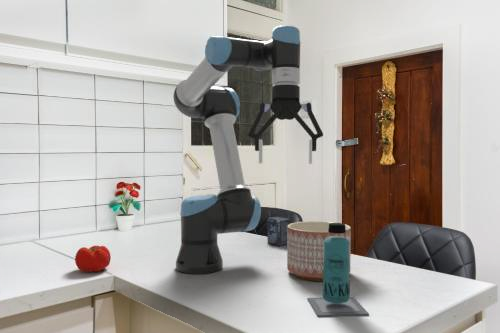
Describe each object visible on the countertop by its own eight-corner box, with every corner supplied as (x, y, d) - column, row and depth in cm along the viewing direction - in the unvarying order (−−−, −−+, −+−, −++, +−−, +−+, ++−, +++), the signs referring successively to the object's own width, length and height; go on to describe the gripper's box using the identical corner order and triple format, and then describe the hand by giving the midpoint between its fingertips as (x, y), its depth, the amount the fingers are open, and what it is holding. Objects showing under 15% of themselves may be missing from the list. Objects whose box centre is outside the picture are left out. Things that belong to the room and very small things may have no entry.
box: (267, 243, 182) (267, 217, 182) (277, 241, 186) (277, 216, 185) (280, 246, 176) (280, 220, 176) (290, 244, 180) (290, 218, 179)
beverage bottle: (319, 301, 111) (319, 221, 111) (345, 300, 112) (346, 220, 111) (326, 310, 105) (326, 225, 104) (353, 309, 105) (354, 225, 105)
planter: (336, 287, 124) (337, 234, 124) (276, 276, 135) (276, 227, 134) (358, 271, 141) (359, 224, 140) (303, 263, 151) (303, 219, 150)
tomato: (77, 276, 135) (77, 252, 135) (73, 268, 145) (73, 245, 144) (114, 272, 140) (113, 248, 140) (107, 264, 149) (107, 242, 149)
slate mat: (317, 316, 102) (317, 314, 102) (307, 299, 114) (307, 297, 114) (368, 315, 103) (369, 313, 103) (353, 298, 115) (353, 296, 115)
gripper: (238, 83, 119) (238, 163, 120) (333, 82, 116) (332, 164, 117) (241, 87, 126) (241, 162, 127) (331, 86, 124) (330, 163, 125)
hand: (285, 163), depth 122 cm, fingers open, 13 cm apart
